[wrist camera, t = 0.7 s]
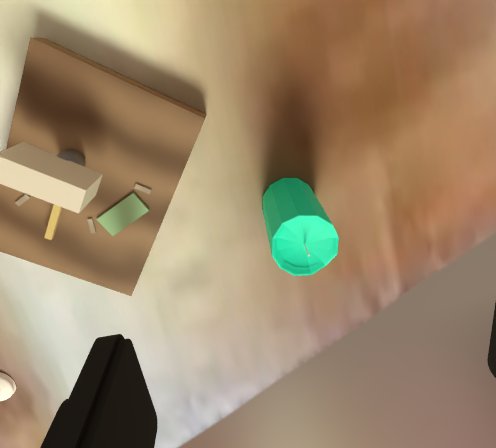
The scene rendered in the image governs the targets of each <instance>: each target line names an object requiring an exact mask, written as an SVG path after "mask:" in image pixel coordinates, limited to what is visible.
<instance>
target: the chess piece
mask: <svg viewBox="0 0 496 448" xmlns="http://www.w3.org/2000/svg"><path fill="white" fill-rule="evenodd" d="M15 390H16V384H15V382H14V381H13V379H12V378H11V377H9V376H8V375H6V374H4V373H1V372H0V401H3V400H6V399H8V398H10V397H11V396H12V394H13V393H14V392H15Z"/></svg>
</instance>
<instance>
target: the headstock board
mask: <svg viewBox="0 0 496 448" xmlns="http://www.w3.org/2000/svg"><path fill="white" fill-rule="evenodd" d="M205 117H206V114H204V113H202V112H200V111H198V110H196V109H194V108H191V107H189V106H187V105H185V104H183V103H181V102H179V101H176V100H174V99H172V98H170V97H168V96H166V95H164V94H162V93H159V92H157V91H155V90H153V89H151V88H149V87H147V86H144V85H142V84H140V83H138V82H136V81H134V80H132V79H130V78H127V77H125V76H123V75H121V74H119V73H117V72H115V71H112V70H110V69H108V68H106V67H104V66H102V65H100V64H98V63H95V62H93V61H91V60H89V59H87V58H85V57H83V56H80V55H78V54H76V53H74V52H72V51H70V50H68V49H65V48H63V47H61V46H59V45H57V44H55V43H53V42H51V41H48V40H46V39H44V38H31V39H30V43H29V48H28V52H27V57H26V61H25V66H24V71H23V75H22V80H21V84H20V89H19V94H18V98H17V103H16V107H15V112H14V116H13V121H12V126H11V130H10V135H9V139H8V144H7V148H6V149H8V148H10V147H13V146H15V145H17V144H20V143H22V142H25V143H27V144H30V145H32V146H35V147H37V148H39V149H42V150H44V151H47V152H49V153H52V154H54V155H57V154H59V153H61V152H62V151H64V150H66V149H75V150H77V151H79V152H80V153H81V154H82V155H83V156H84V158H85V167H86V168H89V169H91V170H94V171H96V172H99V173H101V174H103V175H102V178H101V181H100V184H99V187H98V190H97V193H96V196H95V197H94V198H93V199H92V200H91V201H90V202H89V203H88V204H87V205H86V206H85V207H84V208H83V210H82V211H81V212H80V213H76V212H73V211H71V210H68V209H65V208H63V207H62V210H61V213H60V217H59V220H58V223H57V227H56V230H55V234H54V237H53V239H52V240H49V239H46V238H44V237H45V233H46V230H47V226H48V223H49V219H50V216H51V212H52V209H53V205H54V204H52V203H49V202H47V201H44V200H42V199H39V198H36V197H34V196H31V195H28V194H26V193H23V192H20V191H18V190H15V189H12V188H10V187H7V186H4V185H2V184H0V252H3V253H6V254H9V255H12V256H15V257H18V258H21V259H24V260H27V261H30V262H33V263H36V264H39V265H41V266H44V267H47V268H50V269H53V270H56V271H59V272H62V273H65V274H68V275H71V276H74V277H77V278H80V279H82V280H85V281H88V282H91V283H94V284H97V285H100V286H103V287H106V288H109V289H112V290H115V291H118V292H121V293H124V294H126V295H129V296H132V293H133V291H134V288H135V286H136V284H137V281H138V279H139V276H140V274H141V272H142V269H143V267H144V264H145V262H146V259H147V257H148V255H149V252H150V250H151V247H152V245H153V243H154V240H155V238H156V235H157V233H158V231H159V228H160V226H161V223H162V221H163V219H164V216H165V214H166V211H167V209H168V206H169V204H170V202H171V199H172V197H173V194H174V192H175V190H176V187H177V185H178V182H179V180H180V178H181V175H182V173H183V170H184V168H185V165H186V163H187V161H188V158H189V156H190V153H191V151H192V149H193V146H194V144H195V141H196V139H197V137H198V134H199V132H200V129H201V127H202V125H203V122H204V120H205Z"/></svg>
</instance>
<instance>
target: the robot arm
mask: <svg viewBox="0 0 496 448" xmlns="http://www.w3.org/2000/svg"><path fill="white" fill-rule="evenodd" d="M488 366H489V369H490V371H491V372H492V374H493V375H494V377H495V378H496V303H495V311H494V318H493V325H492V332H491V339H490V346H489V353H488ZM156 433H157V416H156V412H155V409H154V406H153V403H152V400H151V397H150V394H149V391H148V388H147V385H146V382H145V379H144V376H143V373H142V370H141V367H140V364H139V361H138V358H137V356H136V353H135V350H134V347H133V344H132V341H131V340H130V339H124V337H123V336H122V335H121V334H117V335H111V336H105V337H99V338H97V339H96V340H95V342H94V344H93V346H92V348H91V350H90V353H89V355H88V357H87V359H86V362H85V364H84V366H83V368H82V370H81V373H80V375H79V377H78V379H77V381H76V384H75V386H74V388H73V390H72V392H71V395H70V397H69V399H66V400H65V401H64V402H63V403H62V404H61V406H60V407H59V409H58V411H57V413H56V416H55V418H54V420H53V422H52V424H51V426H50V428H49V430H48V433H47V435H46V437H45V439H44V441H43V443H42V445H41V448H154V445H155V439H156Z"/></svg>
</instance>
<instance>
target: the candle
mask: <svg viewBox="0 0 496 448" xmlns="http://www.w3.org/2000/svg"><path fill="white" fill-rule="evenodd" d="M262 209H263V214H264V219H265V224H266V229H267V234H268V238H269V243H270V248H271V253H272V256H273V258H274V259H275V261H276V263H277V264H278V266H279V267H280V268H281V269H283V270H285V271H287V272H289V273H290V274H292V275H294V276H298V275H312V274H314V273H315V272H317V271H318V270H320V269H321V268H323V267H325V266H326V265H327V264H328V263H329V262H330V261H331V260H332V259H333V258H334V257H335V256H336V255H337V252H338V239H339V237H338V235H337V233H336V231H335V229H334V227H333V225H332V223H331V221H330V220H329V218H328V216H327V215H326V213H325V211H324V209H323V208H322V206H321V204H320V203H319V201H318V199H317V198H316V196H315V194H314V193H313V191H312V189H311V188H310V186H309V185H308V184H307V183H305V182H303V181H302V180H300V179H298V178H282V179H280V180H278V181H276V182H274V183H273V184H271V185H270V186H269V188H268V189H267V191H266V192H265V194H264V195H263V208H262Z"/></svg>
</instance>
